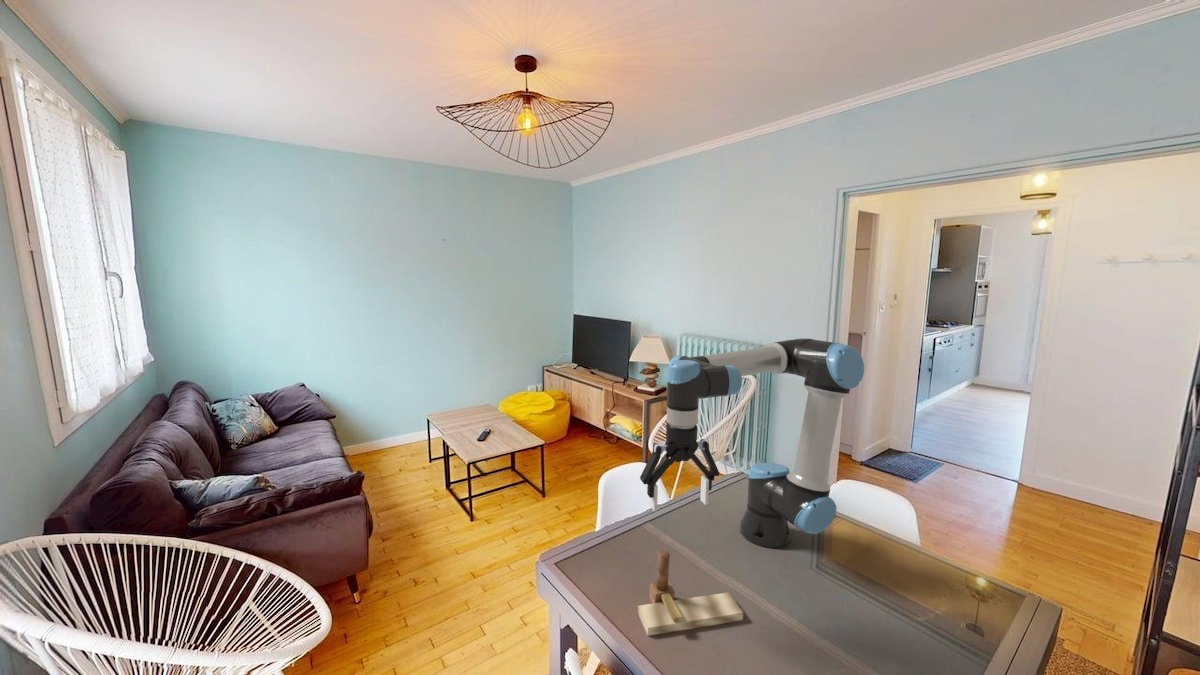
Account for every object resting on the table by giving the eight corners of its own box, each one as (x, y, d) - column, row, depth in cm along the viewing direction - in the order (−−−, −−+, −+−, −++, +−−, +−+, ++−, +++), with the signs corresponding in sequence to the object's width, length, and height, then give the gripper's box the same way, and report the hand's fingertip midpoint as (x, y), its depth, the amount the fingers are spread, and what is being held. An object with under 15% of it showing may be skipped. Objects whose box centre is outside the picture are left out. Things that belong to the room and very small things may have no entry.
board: (727, 599, 112) (728, 592, 112) (742, 620, 106) (743, 612, 105) (637, 613, 107) (638, 605, 106) (647, 635, 100) (647, 627, 100)
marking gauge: (667, 595, 113) (670, 547, 112) (687, 631, 102) (690, 579, 100) (649, 597, 112) (651, 550, 110) (667, 634, 101) (669, 581, 99)
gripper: (720, 415, 114) (717, 492, 117) (628, 422, 108) (627, 503, 111) (736, 424, 107) (731, 507, 110) (638, 433, 101) (636, 519, 104)
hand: (679, 505), depth 111 cm, fingers open, 13 cm apart
